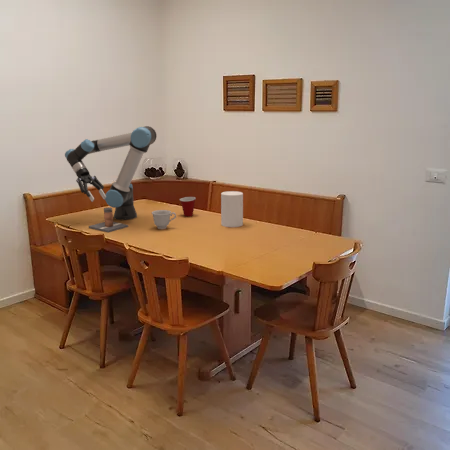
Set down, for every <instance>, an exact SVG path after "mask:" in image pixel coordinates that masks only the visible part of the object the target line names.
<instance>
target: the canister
mask: <svg viewBox="0 0 450 450" xmlns="http://www.w3.org/2000/svg"><path fill="white" fill-rule="evenodd" d="M220 195H221V196H220V199H221V200H220V204H221V205H220V209H221V211H220V212H221V214H220V217H221V219H220V220H221V223H220V224H221V226H222V227H226V228H239V227H242V226H244V193H243V192H242V191H236V190H230V191H229V190H228V191H227V190H226V191H223V192H221V193H220Z"/></svg>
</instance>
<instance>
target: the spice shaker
mask: <svg viewBox="0 0 450 450" xmlns="http://www.w3.org/2000/svg"><path fill="white" fill-rule="evenodd" d="M103 216H104V222H105V227H112V226H113V222H114V213H113V207H104V208H103Z"/></svg>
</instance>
